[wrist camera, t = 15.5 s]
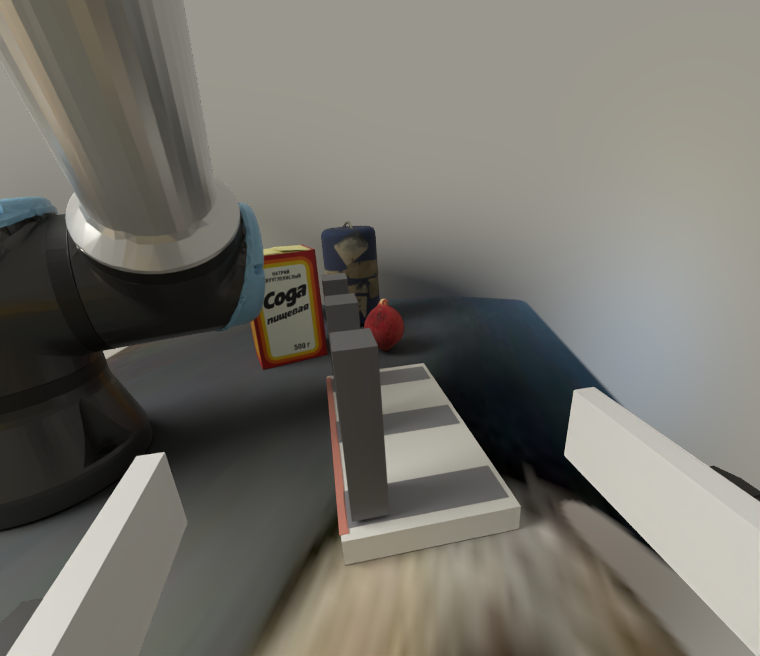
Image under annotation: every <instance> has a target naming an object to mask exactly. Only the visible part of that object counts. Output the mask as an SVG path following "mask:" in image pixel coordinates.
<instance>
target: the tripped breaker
mask: <svg viewBox="0 0 760 656" xmlns="http://www.w3.org/2000/svg"><path fill="white" fill-rule="evenodd" d="M329 334H330V343H331V351H332V360H333V368H334V377H335V385H336V394H337V402H338V411H339V419H340V428H341V436H342V445H343V453H344V462H345V470H346V479H347V487H348V495H349V503H350V511H351V519H352V522H353V521H359V520H364V519H369V518H374V517H379V516H384V515H390V512H389V497H388V483H387V469H386V455H385V440H384V426H383V412H382V398H381V384H380V369H379V355H378V345H377V343H376V341H375V339H374V336H373V334H372V332H371V330H370V328H365V329H357V330H348V331H340V332H332V333H329Z"/></svg>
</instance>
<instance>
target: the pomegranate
mask: <svg viewBox="0 0 760 656" xmlns="http://www.w3.org/2000/svg"><path fill="white" fill-rule="evenodd" d="M365 328H370V330H371V332H372V334H373V336H374V339H375V341H376V343H377V345H378V348H379V349H381V350H383V351H388V350H390V349H391V348H392V347H393V346H394V345H395V344H397V343H398V342H399V341H400V339H401V338H402V336H403V333H404V322H403V319H402V317H401V315H400V314H399V313H398V312H397V311H396V310H395V309H394V308H392V307H390V306H389V305H388V301H387V300H386V299H381V300H380V302H379V304H378V305H377V307H375V308H374V309H372V310H371V312H370V313H369V314H368V316H367V318H366V320H365V324H364V329H365Z"/></svg>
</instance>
